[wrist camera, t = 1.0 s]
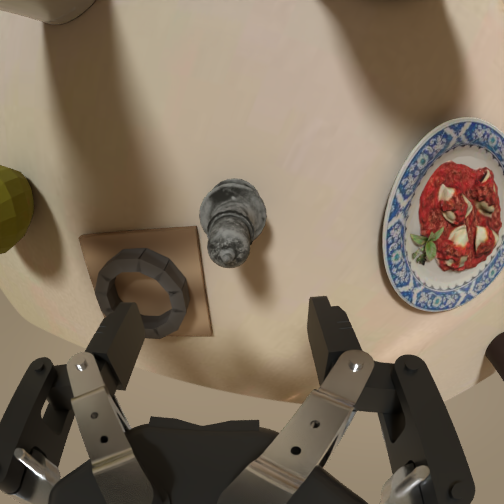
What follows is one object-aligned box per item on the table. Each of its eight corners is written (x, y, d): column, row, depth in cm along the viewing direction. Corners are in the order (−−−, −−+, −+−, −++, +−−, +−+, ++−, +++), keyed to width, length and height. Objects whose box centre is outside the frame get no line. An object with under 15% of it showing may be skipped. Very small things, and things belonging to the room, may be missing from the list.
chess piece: (244, 242, 30) (244, 314, 20) (194, 214, 29) (164, 275, 18) (275, 194, 28) (294, 246, 17) (223, 164, 27) (207, 196, 16)
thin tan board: (81, 235, 29) (68, 247, 26) (196, 226, 29) (191, 238, 26) (112, 329, 36) (104, 345, 33) (211, 331, 36) (209, 349, 33)
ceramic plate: (515, 117, 23) (529, 120, 20) (504, 277, 34) (514, 286, 31) (361, 122, 25) (374, 123, 22) (375, 323, 36) (383, 338, 34)
